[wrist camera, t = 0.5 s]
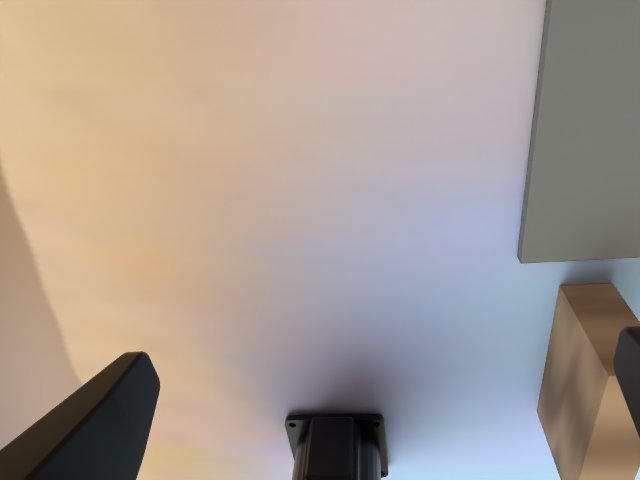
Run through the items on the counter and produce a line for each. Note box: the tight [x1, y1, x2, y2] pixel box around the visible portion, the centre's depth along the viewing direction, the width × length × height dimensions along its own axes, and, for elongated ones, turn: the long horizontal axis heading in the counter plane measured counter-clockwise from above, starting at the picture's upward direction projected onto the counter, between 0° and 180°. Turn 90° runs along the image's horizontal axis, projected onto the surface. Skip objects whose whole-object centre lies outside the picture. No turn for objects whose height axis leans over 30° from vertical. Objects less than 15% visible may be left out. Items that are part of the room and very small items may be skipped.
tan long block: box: [537, 283, 640, 480], centre depth 24 cm, size 10×2×6 cm, turn 7°
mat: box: [517, 0, 640, 263], centre depth 19 cm, size 12×6×1 cm, turn 7°
